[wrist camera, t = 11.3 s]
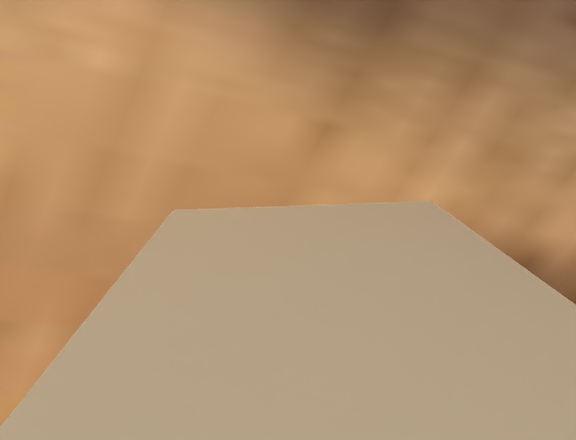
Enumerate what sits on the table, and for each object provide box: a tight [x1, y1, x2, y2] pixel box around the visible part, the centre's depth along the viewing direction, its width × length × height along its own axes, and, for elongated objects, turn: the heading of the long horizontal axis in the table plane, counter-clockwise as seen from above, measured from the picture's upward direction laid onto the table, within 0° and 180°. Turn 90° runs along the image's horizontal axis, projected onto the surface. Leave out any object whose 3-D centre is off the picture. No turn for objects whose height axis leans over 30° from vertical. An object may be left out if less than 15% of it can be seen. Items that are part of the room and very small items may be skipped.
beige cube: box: [0, 201, 576, 440], centre depth 8 cm, size 8×8×9 cm
